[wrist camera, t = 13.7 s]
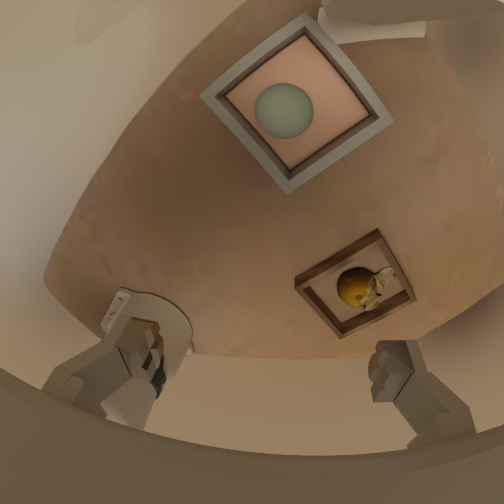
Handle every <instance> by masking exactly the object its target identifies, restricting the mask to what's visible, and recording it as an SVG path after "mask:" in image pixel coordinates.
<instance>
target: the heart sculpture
mask: <svg viewBox="0 0 504 504" xmlns="http://www.w3.org/2000/svg"><path fill="white" fill-rule="evenodd" d="M320 1H321V3H322V6H323V7H321V8H320V9H319V13H318V19H317V23H318V25H319V26H320V27H321V28H322V29H323V30H324V31H325V32H326V33H327V34H328V35H329V36H330V37H331V38H332V40H333V41H334V42H335V43H336V44H337V45H338V44H344V43H351V42H359V41H368V40H378V39H390V38H410V37H424V36H425V31H426V21H427V20H440V19H454V18H466V17H478V16H486V15H493V14H499V13H504V0H320Z"/></svg>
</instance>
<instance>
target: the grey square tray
mask: <svg viewBox="0 0 504 504" xmlns="http://www.w3.org/2000/svg"><path fill="white" fill-rule="evenodd" d="M303 34H305V35H306V36H307V37H308V38H309V39H310V40H311V41H312V42H313V43H314V44H315V45H316V46H317V47H318V49H319V50H320V51H321V52H322V53H323V54H324V55H325V56H326V58H327V59H328V60H329V61H330V62H331V63H332V65H333V66H334V67H335V68H336V69H337V71H338V72H339V73H340V74H341V76H342V77H343V78H344V79H345V80H346V82H347V83H348V84H349V86H350V87H351V88H352V89H353V91H354V92H355V93H356V95H357V96H358V97H359V99H360V100H361V101H362V103H363V104H364V106H365V107H366V108H367V110H368V111H369V113H370V114H371V115H370V116H369V117H367V118H366V119H364V120H363V121H361V122H360V123H358V124H357V125H355V124H356V123H357V122H359V121H360V120H362V119H363V118H365V117H366V116H368V115H369V113H368V112H367V111H366V109H365V108H364V106H363V105H362V104H361V102H360V101H359V100H358V98H357V97H356V96H355V94H354V93H353V92H352V90H351V89H350V88H349V86H348V85H347V84H346V83H345V81H344V80H343V79H342V78H341V76H340V75H339V74H338V73H337V71H336V70H335V69H334V68H333V67H332V65H331V64H330V63H329V62H328V61H327V60H326V58H325V57H324V56H323V55H322V54H321V53H320V52H319V50H318V49H317V48H316V47H315V46H314V45H313V44H312V43H311V42H310V41H309V40H308V39H307V37H306V36H305V35H304V36H302V37H301V38H299V39H298V40H296V41H295V42H293V41H294V40H295V39H297V38H298V37H300V36H301V35H303ZM291 42H293V43H292V44H291V45H289V46H288V47H286V46H287V45H288V44H290V43H291ZM284 47H286V48H285V49H284V50H282V51H281V52H279V51H280V50H281V49H283V48H284ZM277 52H279V53H278V54H277V55H275V54H276V53H277ZM273 55H275V56H274V57H273V58H271V57H272V56H273ZM269 58H271V59H270V60H269V61H267V60H268V59H269ZM265 61H267V62H266V63H265V64H264V65H262V66H261V67H260V68H258V67H259V66H260V65H261V64H263V63H264V62H265ZM256 68H258V69H257V70H256V71H255V72H253V71H254V70H255V69H256ZM251 72H253V73H252V74H251V75H250V76H248V75H249V74H250V73H251ZM246 76H248V77H247V78H246V79H245V80H244V81H242V80H243V79H244V78H245V77H246ZM240 81H242V82H241V83H240V84H239V85H238V86H236V85H237V84H238V83H239V82H240ZM279 83H288V84H292V85H295V86H297V87H299V88H301V89H302V90H304V91H305V92H306V93H307V95H308V96H309V97H310V99H311V101H312V104H313V110H314V114H313V119H312V122H311V124H310V126H309V127H308V128H307V130H306V131H305V132H303V133H302V134H301V135H299V136H296V137H294V138H289V139H280V138H276V137H273V136H271V135H269V134H267V133H266V132H265V131H264V130H263V129H262V128H261V127H260V126H259V124H258V122H257V120H256V117H255V104H256V101H257V99H258V97H259V95H260V94H261V93H262V92H263V91H264V90H265V89H266V88H268V87H269V86H272V85H274V84H279ZM234 86H236V87H235V88H234V89H233V90H232V91H231V92H229V91H230V90H231V89H232V88H233V87H234ZM227 92H229V93H228V94H227V95H226V97H227V98H228V99H229V100H230V101H231V102H232V103H233V104H234V105H235V106H236V108H237V109H238V110H239V111H240V112H241V113H242V114H243V115H244V116H245V117H246V119H247V120H248V121H249V122H250V123H251V124H252V125H253V126H254V127H255V129H256V130H257V131H258V132H259V133H260V134H261V135H262V137H263V138H264V139H265V140H266V141H267V142H268V144H269V145H270V146H271V147H272V148H273V149H274V151H275V152H276V153H277V154H278V155H279V157H280V158H281V159H282V160H283V161H284V163H285V164H286V165H287V166H288V167H289V169H292V168H293V167H295V166H296V165H297V164H299V163H300V162H302V161H303V160H304V159H306V158H307V157H309V156H310V155H311V154H313V153H314V152H316V151H317V150H318V149H320V148H321V147H323V146H324V145H325V144H327V143H328V142H330V141H331V140H333V139H334V138H336V137H337V136H338V135H340V134H341V133H343V132H344V131H346V130H347V129H349V128H350V127H352V126H353V125H355V126H354V127H352V128H351V129H349V130H348V131H346V132H345V133H343V134H342V135H341V136H339V137H338V138H336V139H335V140H333V141H332V142H330V143H329V144H328V145H326V146H325V147H323V148H322V149H320V150H319V151H318V152H316V153H315V154H313V155H312V156H311V157H309V158H308V159H306V160H305V161H304V162H302V163H301V164H299V165H298V166H297V167H295V168H294V169H292V170H291V171H289V169H288V168H287V167H286V166H285V164H284V163H283V162H282V161H281V160H280V158H279V157H278V156H277V155H276V154H275V152H274V151H273V150H272V149H271V148H270V147H269V145H268V144H267V143H266V142H265V141H264V140H263V138H262V137H261V136H260V135H259V134H258V133H257V132H256V130H255V129H254V128H253V127H252V126H251V125H250V124H249V122H248V121H247V120H246V119H245V118H244V117H243V116H242V115H241V114H240V113H239V111H238V110H237V109H236V108H235V107H234V106H233V105H232V104H231V103H230V102H229V101H228V100H227V98H226V97H225V96H224V95H225V94H226V93H227ZM199 97H200V98H201V99H202V100H203V101H204V102H205V104H206V105H207V106H208V107H209V108H210V109H211V110H212V111H213V112H214V113H215V114H216V115H217V116H218V117H219V119H220V120H221V121H222V122H223V123H224V124H225V125H226V126H227V127H228V128H229V129H230V131H231V132H232V133H233V134H234V135H235V136H236V137H237V138H238V139H239V141H240V142H241V143H242V144H243V145H244V146H245V147H246V148H247V150H248V151H249V152H250V153H251V154H252V155H253V156H254V158H255V159H256V160H257V161H258V162H259V163H260V165H261V166H262V167H263V168H264V169H265V170H266V172H267V173H268V174H269V175H270V176H271V177H272V179H273V180H274V181H275V182H276V183H277V185H278V186H279V187H280V188H281V189H282V191H283V192H284V193H285V194H286V195H289V194H290V193H291V192H293V191H294V190H296V189H297V188H299V187H300V186H301V185H303V184H304V183H306V182H307V181H309V180H310V179H311V178H313V177H314V176H316V175H317V174H319V173H320V172H321V171H323V170H324V169H326V168H327V167H329V166H330V165H332V164H333V163H335V162H336V161H337V160H339V159H340V158H342V157H343V156H345V155H346V154H348V153H349V152H351V151H352V150H354V149H355V148H357V147H358V146H360V145H361V144H362V143H364V142H365V141H367V140H368V139H370V138H371V137H373V136H374V135H376V134H377V133H379V132H380V131H382V130H383V129H385V128H386V127H388V126H389V125H391V124H392V123H394V122H395V121H394V120H393V118H392V117H391V115H390V114H389V112H388V111H387V109H386V108H385V106H384V105H383V103H382V102H381V100H380V99H379V97H378V96H377V95H376V93H375V92H374V90H373V89H372V88H371V86H370V85H369V84H368V82H367V81H366V80H365V78H364V77H363V76H362V74H361V73H360V72H359V71H358V69H357V68H356V67H355V66H354V64H353V63H352V62H351V61H350V59H349V58H348V57H347V56H346V55H345V53H344V52H343V51H342V50H341V49H340V48H339V46H338V45H337V44H336V43H335V42H334V41H333V40H332V38H331V37H330V36H329V35H328V34H327V33H326V32H325V31H324V30H323V29H322V28H321V27H320V26H319V25H318V23H317V22H316V21H315V20H314V19H313V18H312V17H311V16H310V15H309V14H308V13H307V12H305V13H303V14H302V15H300V16H298V17H297V18H295V19H294V20H292V21H291V22H290V23H288V24H287V25H285V26H284V27H282V28H281V29H279V30H278V31H277V32H275V33H274V34H273V35H271V36H270V37H268V38H267V39H266V40H264V41H263V42H262V43H260V44H259V45H258V46H257V47H255V48H254V49H253V50H251V51H250V52H249V53H248V54H246V55H245V56H244V57H243V58H241V59H240V60H239V61H238V62H237V63H235V64H234V65H233V66H232V67H231V68H229V69H228V70H227V71H226V72H225V73H224V74H222V75H221V76H220V77H219V78H218V79H217V80H216V81H215V82H213V83H212V84H211V85H210V86H209V87H208V88H207V89H206V90H205V91H204V92H203V93H201V94H200V95H199Z"/></svg>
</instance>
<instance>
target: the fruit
mask: <svg viewBox="0 0 504 504" xmlns="http://www.w3.org/2000/svg"><path fill="white" fill-rule="evenodd" d="M387 271H388V272H389V273H390V272H391V271H393V275H392V277H391V278H392V279H395V278H396V275H397V274H396V272H395V270H394V269H393V267H386V268H383V269H382V270H381V271H380V272H379V274H377V275H374V274H372V273H371V272H369V271H368V270H366V269H364V268H362V269H361V268H353V269H350V270H347V271H345V272H344V273H343V274H342V275H341V277H340V279H339V283H338V285H337V286H338V287H337V288H338V295H339V297H340V298H341V299H342V300H343V301H344V302H345V303H346V304H347V305H349V306H351V307H353V308H359V307H361V306H362V305H363V304H365V305H366V307H365V308H364V311H370V310H372V309H374V308H376V307H378V306H379V304H380V302H381V299H380V297H382V296H377V295H376V291H377V289H379V290H383V289H384V288H385V287H386V286H387V285H388V283H389V282H390V280H389V279H387V278H386V277H385V274H386V273H388V272H387ZM376 300H378V302H375V301H376Z"/></svg>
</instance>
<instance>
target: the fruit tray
mask: <svg viewBox="0 0 504 504" xmlns="http://www.w3.org/2000/svg"><path fill="white" fill-rule="evenodd" d="M379 245H380V247H381V249H382V250H383V252H384V254H385V255H386V257H387V259H388V260H389V262H390V264H391V265H392V267H393V269H394V270H395V272H396V274H397V276H398V277H399V279H400V281H401V283H402V284H403V286H404V288H405V290H404V291H402V292H400V293H398V294H397V295H395V296H393V297H391V298H389V299H387V300H386V301H384V302H382V303H380V304H379V306H378V307H376V308H374V309H372V310H370V311H365V312H363V313H361V314H359V315H357V316H355V317H353V318H351V319H349V320H347V321H345V322H343V323H340V321H339V320H338V319H337V318H336V317H335V316H334V314H333V313H332V312H331V311H330V310H329V308H328V307H327V306H326V305H325V304H324V303H323V301H322V300H321V299H320V298H319V297H318V296H317V294H316V293H315V292H314V291H313V290H312V289H311V288H310V285H312V284H314V283H315V282H317V281H319V280H321V279H323V278H324V277H326V276H328V275H330V274H331V273H333V272H335V271H337V270H338V269H340V268H342V267H344V266H345V265H347V264H349V263H350V262H352V261H354V260H356V259H357V258H359V257H361V256H362V255H364V254H366V253H367V252H369V251H371V250H372V249H374V248H376V247H377V246H379ZM294 289H295V290H296V291H297V292H298V293H299V294H300V295H301V296H302V297H303V298H304V300H305V301H306V302H307V303H308V304H309V305H310V306H311V307H312V308H313V310H314V311H315V312H316V313H317V314H318V315H319V316H320V317H321V318H322V320H323V321H324V322H325V323H326V324H327V325H328V326H329V327H330V328H331V330H332V331H333V332H334V333H335V334H336V335H337V336H338V337H339V338H340V339H342V338H344V337H346V336H348V335H350V334H353V333H355V332H357V331H359V330H361V329H363V328H365V327H367V326H369V325H371V324H373V323H375V322H377V321H379V320H381V319H383V318H385V317H387V316H389V315H391V314H393V313H394V312H396V311H398V310H400V309H402V308H404V307H406V306H407V305H409V304H411V303H413V302H415V301H416V300H417V299H416V296H415V294H414V292H413V289H412V287H411V285H410V284H409V282H408V280H407V278H406V276H405V274H404V272H403V271H402V269H401V267H400V265H399V264H398V262H397V260H396V258H395V256H394V255H393V253H392V251H391V250H390V248H389V246H388V245H387V243H386V241H385V240H384V238H383V236H382V235H381V233H380V231H379V230H378V228H377V229H376V230H374V231H372V232H371V233H369V234H368V235H366V236H364V237H363V238H361V239H359V240H358V241H356V242H355V243H353V244H351V245H350V246H348V247H346V248H345V249H343V250H341V251H340V252H338V253H336V254H335V255H333V256H331V257H330V258H328V259H326V260H325V261H323V262H321V263H319V264H318V265H316V266H314V267H313V268H311V269H309V270H307V271H306V272H304V273H302V274H301V275H299V276H297V277H295V287H294Z"/></svg>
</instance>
